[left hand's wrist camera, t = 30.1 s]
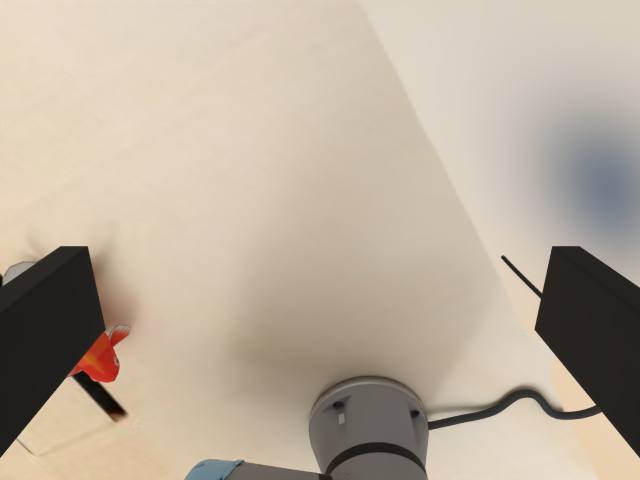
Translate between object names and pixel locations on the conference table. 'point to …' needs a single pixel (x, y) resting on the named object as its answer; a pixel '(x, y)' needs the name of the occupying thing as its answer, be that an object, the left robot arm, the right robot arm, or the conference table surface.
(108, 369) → the fish
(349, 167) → the conference table surface
